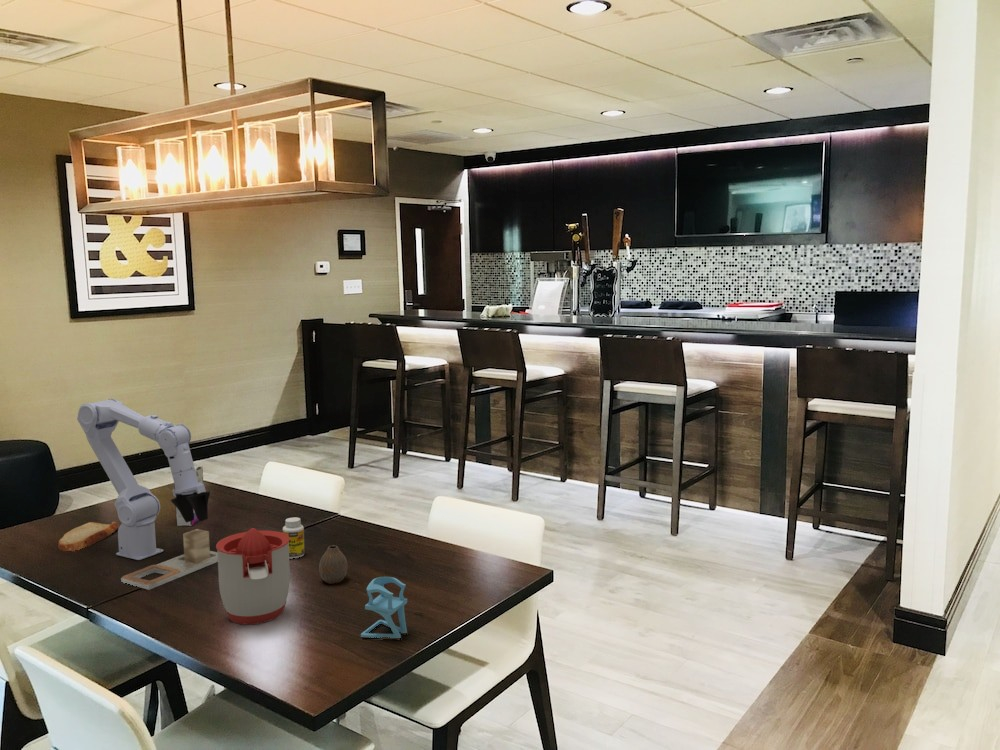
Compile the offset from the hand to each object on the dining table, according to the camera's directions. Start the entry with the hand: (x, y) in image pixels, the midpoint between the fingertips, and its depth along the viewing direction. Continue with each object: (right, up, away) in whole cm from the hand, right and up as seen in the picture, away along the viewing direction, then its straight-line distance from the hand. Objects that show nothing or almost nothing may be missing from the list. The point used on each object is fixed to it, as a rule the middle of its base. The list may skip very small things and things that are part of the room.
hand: (196, 520), depth 204 cm
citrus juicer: (+26, -16, -32) cm, 44 cm away
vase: (+39, -13, -11) cm, 42 cm away
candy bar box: (-16, -7, +37) cm, 41 cm away
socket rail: (-4, -12, -4) cm, 13 cm away
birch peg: (-1, -11, +2) cm, 11 cm away
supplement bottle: (+24, -11, +6) cm, 27 cm away
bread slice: (-39, -10, +21) cm, 45 cm away
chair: (+56, -17, -40) cm, 71 cm away
